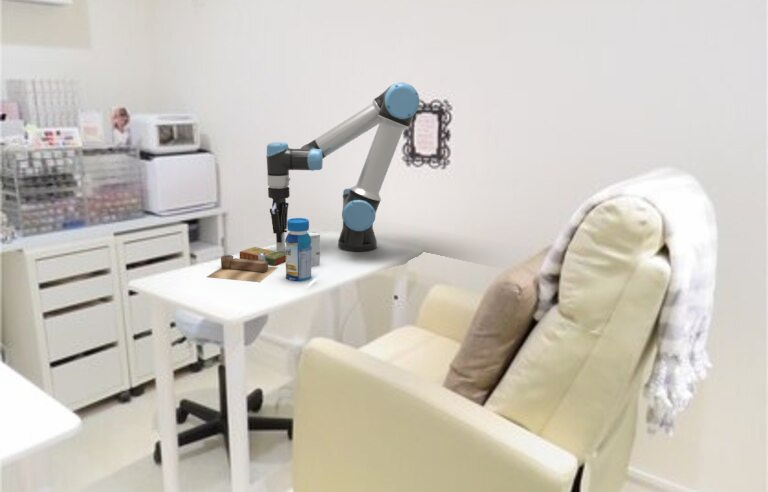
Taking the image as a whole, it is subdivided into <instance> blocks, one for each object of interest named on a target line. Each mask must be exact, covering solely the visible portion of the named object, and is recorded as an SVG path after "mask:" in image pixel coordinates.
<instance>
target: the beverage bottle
mask: <svg viewBox="0 0 768 492" xmlns="http://www.w3.org/2000/svg"><path fill="white" fill-rule="evenodd" d="M286 230H287V235H286V237H285V250H284V252H285V253H286V262H285V279H286V280H287V281H290V282H306V281H309V280H311V279H312V277H313V276H312V267H311V252H312V247H311V245H310V244H311V238H310V235H309V234H308V233H309V230H310V221H309V219H308V218H302V217H294V218H293V217H291V218H288V219H287V229H286Z"/></svg>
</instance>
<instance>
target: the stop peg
mask: <svg viewBox="0 0 768 492" xmlns="http://www.w3.org/2000/svg"><path fill="white" fill-rule="evenodd" d="M258 261H266V258H265V253H258Z"/></svg>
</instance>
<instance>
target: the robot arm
mask: <svg viewBox="0 0 768 492" xmlns="http://www.w3.org/2000/svg"><path fill="white" fill-rule="evenodd" d="M419 107H420V96H419V93H418V91H417V89H416V88H415V87H414V86H413V85H412V84H410V83H407V82H396V83H394V84H392V85H390V86H389V87H387V89H386V90H384V91H383V92H382V93H380V95H378V96H376V97H375V98H373V100H372V102H371V104H369V105H368V106H366V107H365V108H363V109H361V110H360V111H358V112H356V113H355V114H353V115H352V116H350V117H349V118H347V119H346V120H344V121H342V122H341V123H339V124H337V125H336V126H334V127H333V128H331V129H330V130H328V131H326V132H325V133H323V134H321V135H320V136H318V137H317V138H315V139H314V140H312V141H310V142H308V143H307V144H305V145H304V144H303V146H301V147H300V148H289V145H288V143H287V142H278V141H277V142H270V143H267V146H266V167H267V168H266V169H267V186H268V188H267V194H268V198H269V199H272V203H271V204H272V206H271V207H272V208H269V213H270V215H271V216H270V217H271V218H270V219H271V224H272V226H271V227H272V233H273V234H275V239H276V241H275V244H276V252H285V247H286V243H285V240H286V237H285V233H288V229H287V221H288V211H289V210H288V209H289V202H286V201H287V200H286V199H288V198H290V195H291V193H290V187H289V185H290V180H291V177H290V171H311V172H312V171H313V172H314V171H320V170H322V169H323V165H324V164H323V162H324V161H323V159H324V158H326V157H328V156H329V155H331V154H332V153H334V152H335V151H338V150H339V149H340V148H341V149H342V147H344V146H345V145H347V144H349V143H350V142H351V141H354V140H355V139H357V138H359V137H360V136H362V135H363V134H365V133H366V132H369V131H370V130H371V129H373V128H375V127H377V128H376V129H377V130H376V133H375V135H374V137H373V140H372V142H371V146H370V148H369V150H368V153H367V156H366V158H365V161H364V164H363V165H362V166H363V167H362V169H361V172H360V175H359V177H358V179H357V183H356V184H355V185H354V186H352V187H350V188H345V189H344V190H343V191H342V192H343V194H342V211H341V219H342V229H341V232H340V235H339V238H338V242H337V243H338V244H337V246H338V249H341V250H344V251H348V252H368V251H374V250H375V249H377V247H378V242H377V241H378V240H377V237H376V234H375V231H374V227H373V225H374V222H375V221H376V215H377V214H376V213H377V212H378V207H379V205H380V203H381V200H382V199H381V195H380V191H381V189H382V186H383V183H384V180H385V178H386V175H387V172H388V170H389V168H390V165H391V163H392V160H393V158H394V155H395V153H396V150H397V147H398V144H399V142H400V139H401V137H402V135H403V132H404V131H405V130H406V129H408V128H410V125H411V123H412V120H413V117H414V115H415V114H416V113H417V111H418V110H419Z"/></svg>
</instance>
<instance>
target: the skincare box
mask: <svg viewBox="0 0 768 492" xmlns="http://www.w3.org/2000/svg"><path fill="white" fill-rule="evenodd" d="M308 234H309V235H310V238H311V244H310V245H311V247H312V252H311V268H312V267H318V266H319V267H320V266H321V265H320V264H321V263H320V260H321V255H320V254H321V247H320V246H321V234H320V233H317V232H313V231H312V232H308Z"/></svg>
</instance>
